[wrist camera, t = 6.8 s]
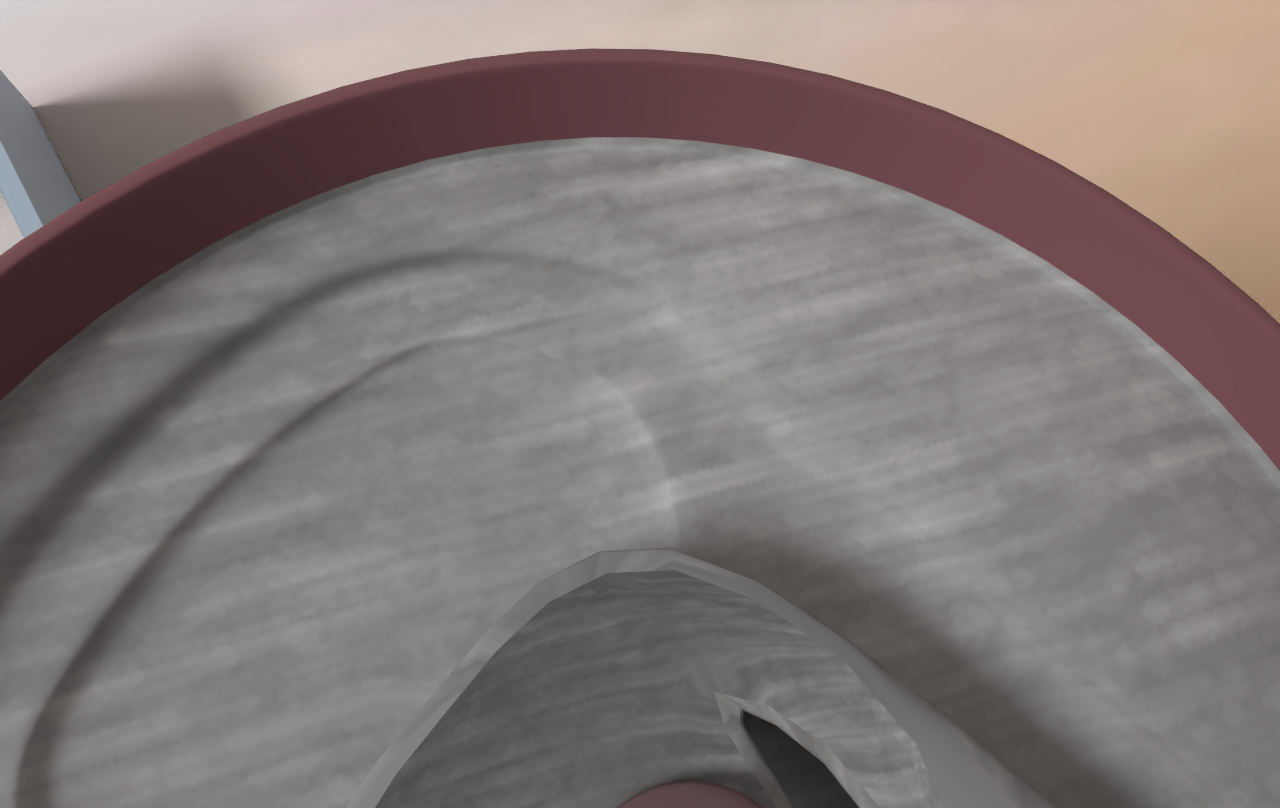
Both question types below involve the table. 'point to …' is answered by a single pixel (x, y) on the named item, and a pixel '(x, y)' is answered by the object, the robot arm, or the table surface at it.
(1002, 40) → the table surface
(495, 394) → the soda can
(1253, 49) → the table surface
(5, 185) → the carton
